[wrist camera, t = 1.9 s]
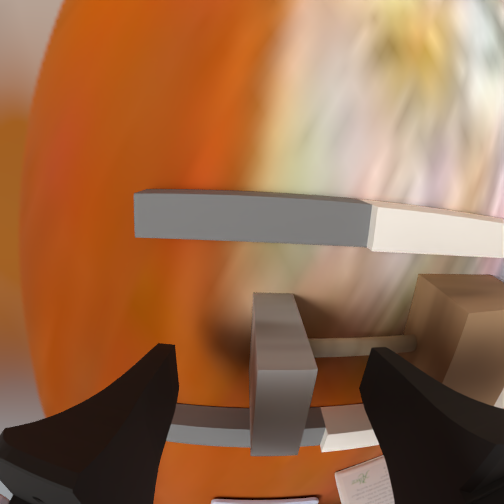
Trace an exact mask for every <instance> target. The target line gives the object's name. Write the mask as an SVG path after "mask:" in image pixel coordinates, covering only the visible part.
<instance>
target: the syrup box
mask: <svg viewBox="0 0 504 504" xmlns="http://www.w3.org/2000/svg"><path fill="white" fill-rule="evenodd" d="M335 479H336V484H337V488H338V492H339V496H340V500H341V504H395V502H394V496H393V491H392V486H391V481H390V477H389V473H388V469H387V465H386V461H385V458H384V455H382V456H379V457H377V458H374V459H371V460H369V461H366V462H363V463H361V464H358V465H355V466H352V467H350V468H347V469H344V470H341V471H338V472H335Z"/></svg>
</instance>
